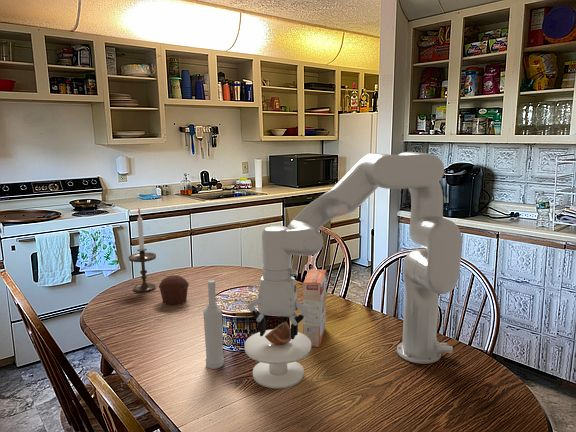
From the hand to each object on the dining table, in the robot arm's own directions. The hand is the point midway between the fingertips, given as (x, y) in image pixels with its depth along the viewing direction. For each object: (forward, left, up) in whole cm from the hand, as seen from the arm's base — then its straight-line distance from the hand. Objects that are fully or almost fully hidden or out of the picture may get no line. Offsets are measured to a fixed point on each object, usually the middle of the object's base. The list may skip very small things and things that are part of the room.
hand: (278, 335), depth 121 cm
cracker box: (-6, -24, -12) cm, 27 cm away
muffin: (+53, -43, -12) cm, 69 cm away
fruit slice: (0, 0, -3) cm, 3 cm away
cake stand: (0, 0, -11) cm, 11 cm away
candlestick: (+72, -53, -12) cm, 90 cm away
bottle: (+19, -1, -12) cm, 22 cm away
